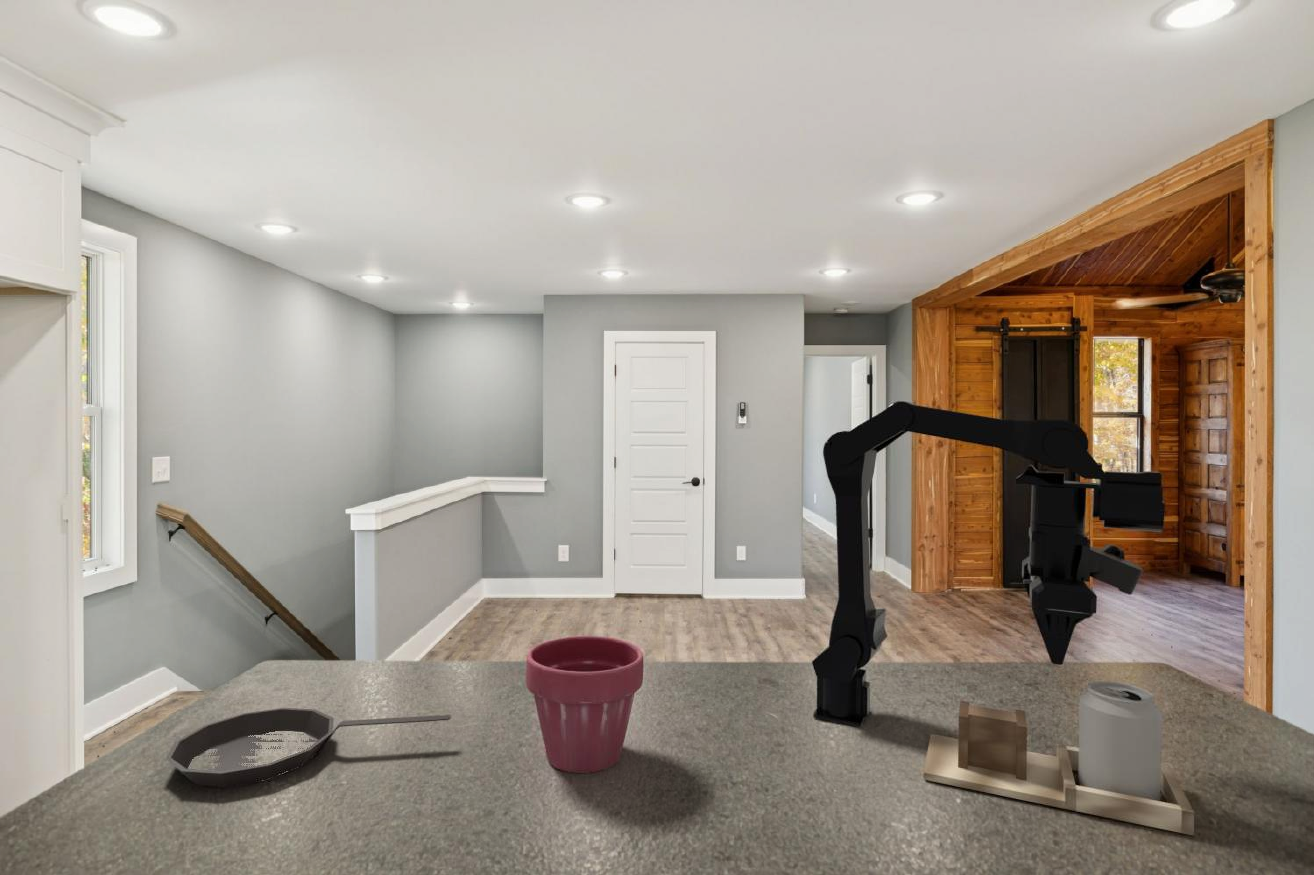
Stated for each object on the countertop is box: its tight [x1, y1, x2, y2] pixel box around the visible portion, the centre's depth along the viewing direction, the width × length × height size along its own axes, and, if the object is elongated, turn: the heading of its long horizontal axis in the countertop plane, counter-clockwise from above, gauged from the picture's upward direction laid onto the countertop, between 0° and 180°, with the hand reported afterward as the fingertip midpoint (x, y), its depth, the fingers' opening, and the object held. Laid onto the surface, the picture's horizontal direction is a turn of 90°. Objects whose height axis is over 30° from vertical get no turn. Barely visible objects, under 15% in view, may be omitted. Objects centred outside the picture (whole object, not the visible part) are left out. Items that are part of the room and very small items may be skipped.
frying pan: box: [165, 707, 452, 788], centre depth 86 cm, size 18×32×4 cm, turn 98°
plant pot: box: [525, 635, 644, 774], centre depth 86 cm, size 14×14×13 cm
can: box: [1077, 680, 1163, 801], centre depth 76 cm, size 8×8×12 cm
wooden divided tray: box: [923, 700, 1195, 836], centre depth 79 cm, size 25×11×7 cm, turn 65°
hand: (1052, 652), depth 85 cm, fingers open, 9 cm apart
